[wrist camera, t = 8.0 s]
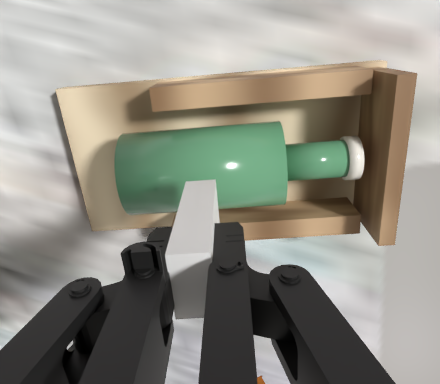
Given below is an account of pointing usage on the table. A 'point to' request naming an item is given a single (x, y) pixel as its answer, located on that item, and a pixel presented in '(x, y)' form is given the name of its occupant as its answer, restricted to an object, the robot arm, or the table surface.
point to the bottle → (225, 165)
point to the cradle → (254, 113)
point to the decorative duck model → (260, 380)
